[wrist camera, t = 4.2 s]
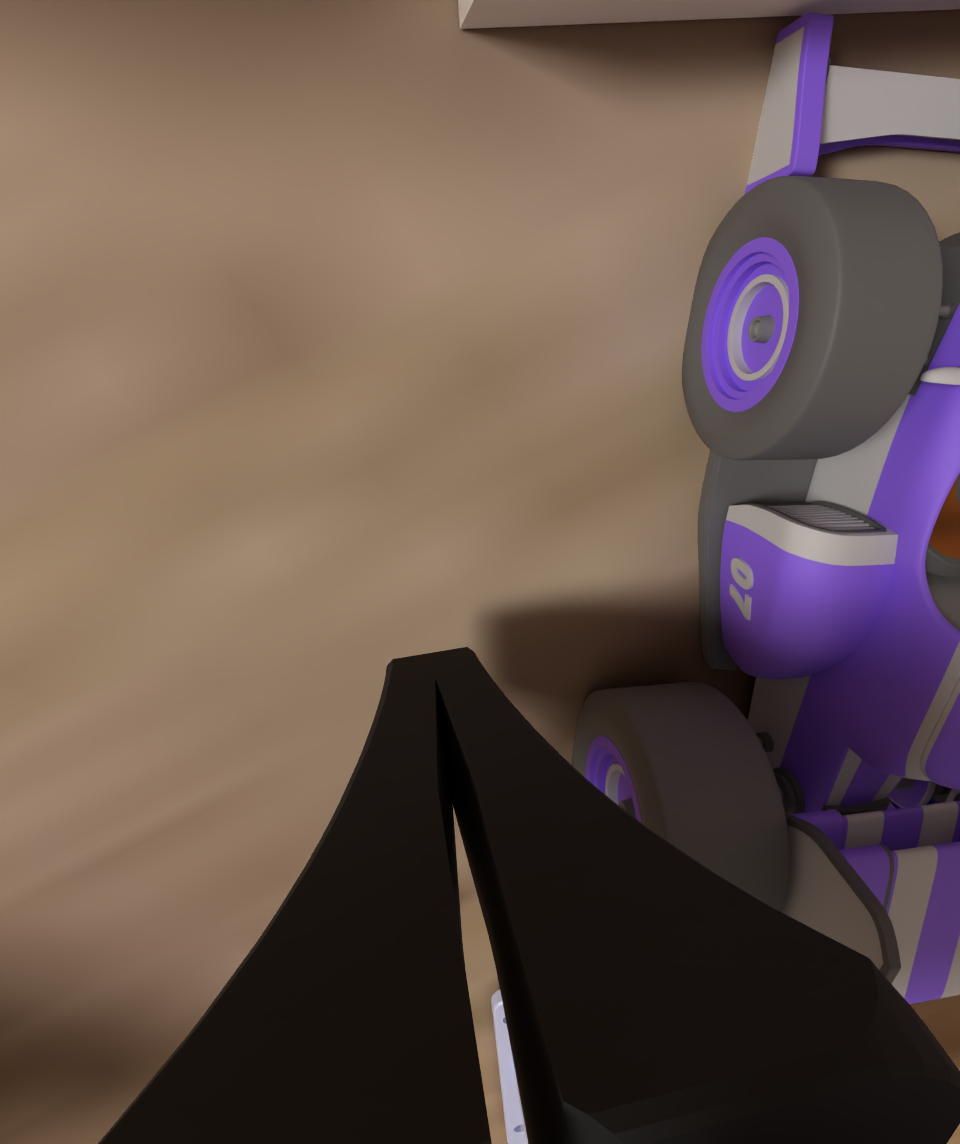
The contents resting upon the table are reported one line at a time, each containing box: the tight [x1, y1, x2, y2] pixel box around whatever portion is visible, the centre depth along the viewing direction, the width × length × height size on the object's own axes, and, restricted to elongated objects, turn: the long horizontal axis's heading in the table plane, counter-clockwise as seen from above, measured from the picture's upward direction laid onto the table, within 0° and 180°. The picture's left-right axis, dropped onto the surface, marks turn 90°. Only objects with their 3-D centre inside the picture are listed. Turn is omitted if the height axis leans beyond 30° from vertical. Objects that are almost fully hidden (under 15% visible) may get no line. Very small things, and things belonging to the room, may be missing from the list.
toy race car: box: [572, 13, 960, 1004], centre depth 10 cm, size 10×15×6 cm, turn 178°
